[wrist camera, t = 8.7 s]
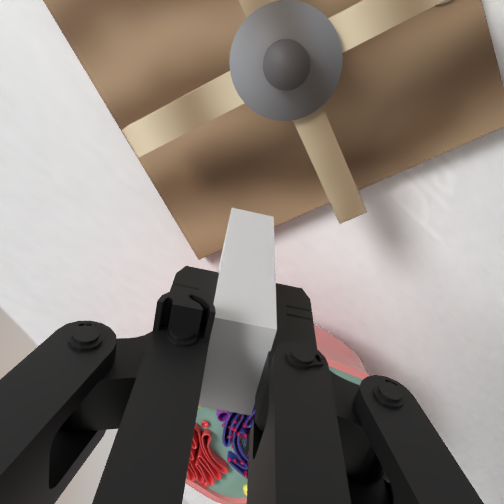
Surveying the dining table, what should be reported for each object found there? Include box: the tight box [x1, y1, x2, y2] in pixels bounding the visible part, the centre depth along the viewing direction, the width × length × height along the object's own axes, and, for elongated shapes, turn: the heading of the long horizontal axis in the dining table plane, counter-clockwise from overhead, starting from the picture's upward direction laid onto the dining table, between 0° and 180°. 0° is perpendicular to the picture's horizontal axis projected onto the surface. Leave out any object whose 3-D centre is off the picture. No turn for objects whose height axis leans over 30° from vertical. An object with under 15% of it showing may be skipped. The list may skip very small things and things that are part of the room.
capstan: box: [122, 0, 445, 224], centre depth 26 cm, size 22×20×4 cm
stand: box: [43, 0, 504, 259], centre depth 30 cm, size 21×24×4 cm
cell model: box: [185, 325, 370, 504], centre depth 38 cm, size 17×20×11 cm
